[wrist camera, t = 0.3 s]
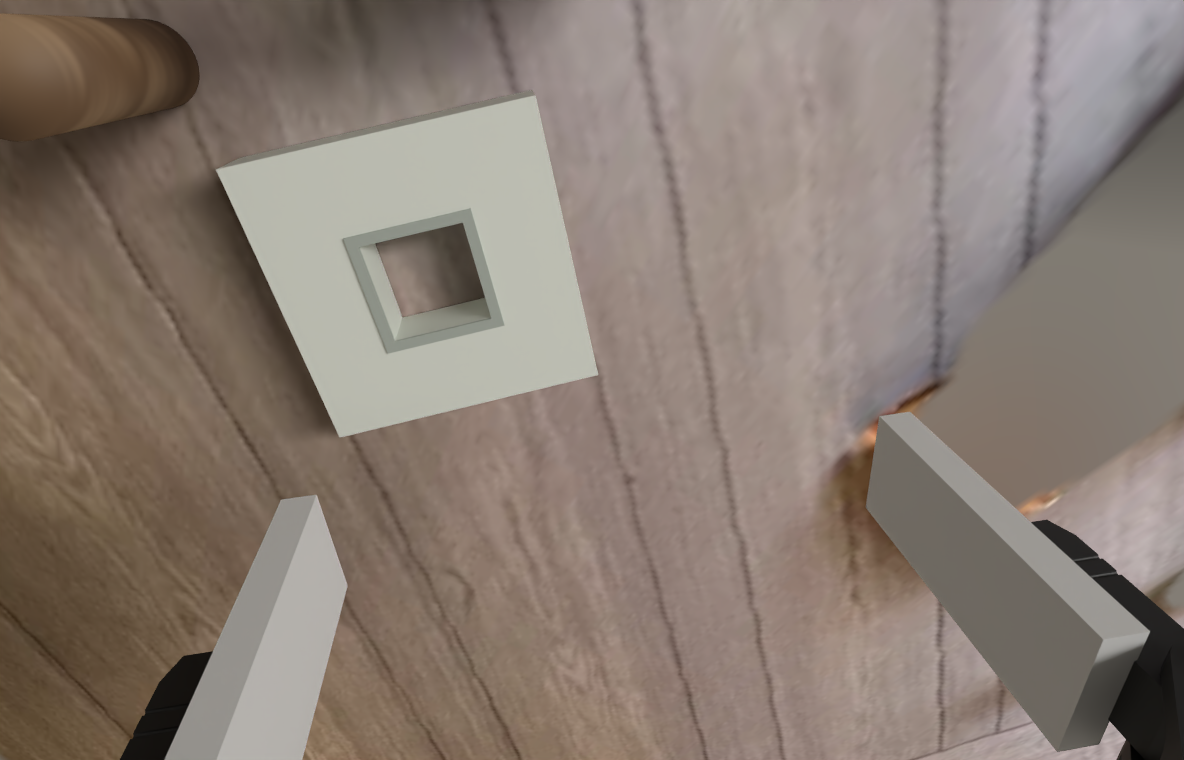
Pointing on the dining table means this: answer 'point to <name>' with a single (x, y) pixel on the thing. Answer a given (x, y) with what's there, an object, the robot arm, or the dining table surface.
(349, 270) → the socket board
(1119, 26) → the dining table surface
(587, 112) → the dining table surface
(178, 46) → the walnut peg
